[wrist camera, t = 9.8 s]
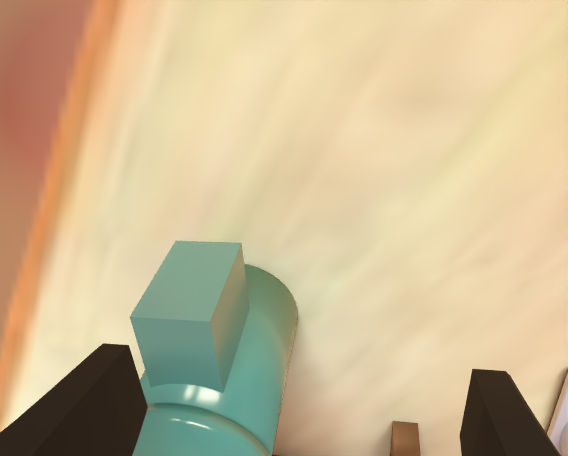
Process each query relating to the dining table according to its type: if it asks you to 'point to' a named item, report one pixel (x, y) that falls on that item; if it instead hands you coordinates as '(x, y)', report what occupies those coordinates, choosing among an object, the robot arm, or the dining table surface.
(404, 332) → the dining table surface
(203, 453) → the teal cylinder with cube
